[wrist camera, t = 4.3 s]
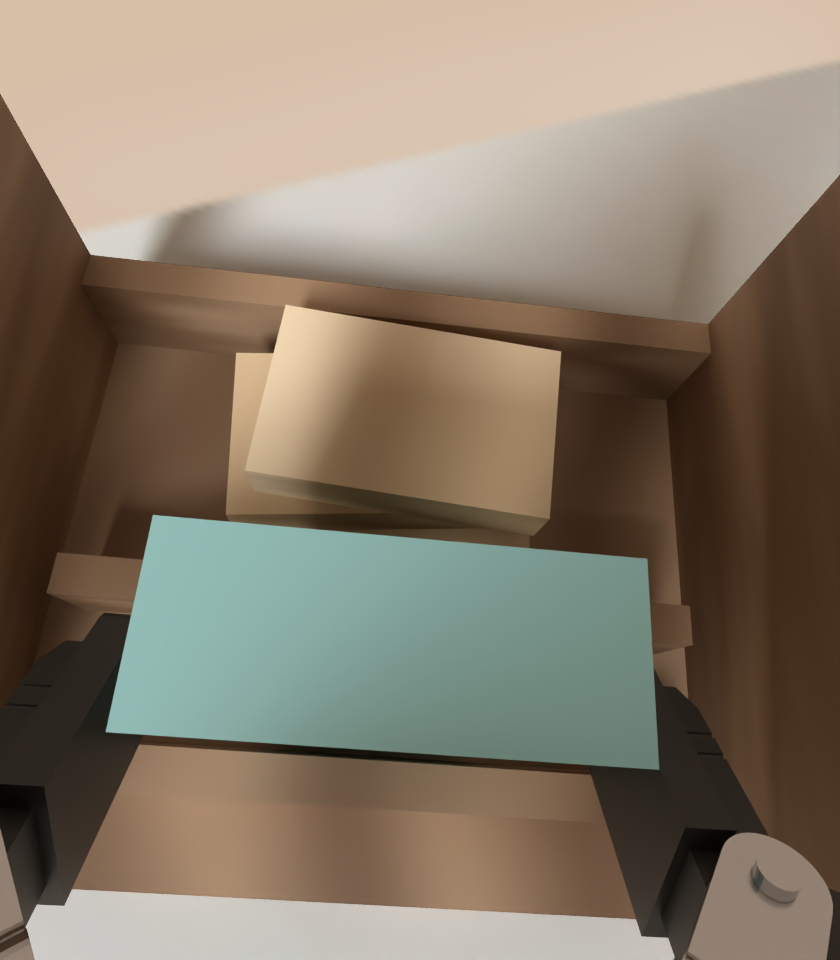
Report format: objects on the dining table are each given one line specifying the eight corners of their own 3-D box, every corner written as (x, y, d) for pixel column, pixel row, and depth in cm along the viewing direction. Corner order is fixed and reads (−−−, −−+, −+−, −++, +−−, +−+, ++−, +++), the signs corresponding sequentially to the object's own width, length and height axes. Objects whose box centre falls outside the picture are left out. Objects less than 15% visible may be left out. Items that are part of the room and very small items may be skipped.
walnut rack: (673, 397, 24) (891, 171, 14) (712, 909, 18) (1119, 1118, 9) (109, 338, 23) (-76, 45, 13) (-34, 868, 17) (-551, 1059, 7)
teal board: (472, 658, 19) (647, 558, 8) (469, 742, 18) (658, 769, 7) (276, 643, 18) (152, 515, 7) (264, 728, 18) (106, 732, 6)
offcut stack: (521, 406, 22) (560, 329, 17) (518, 568, 20) (563, 526, 16) (256, 379, 21) (231, 293, 17) (227, 544, 19) (192, 492, 15)
